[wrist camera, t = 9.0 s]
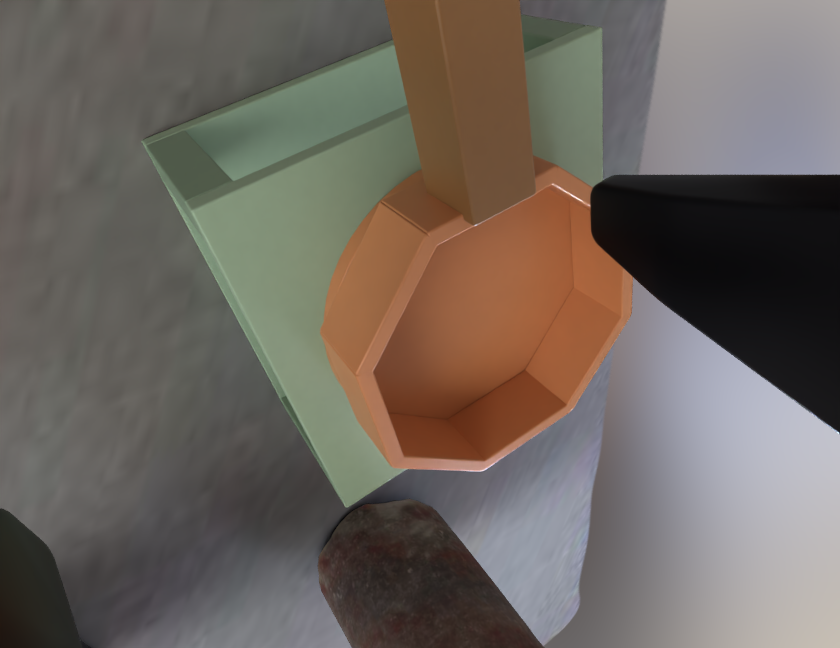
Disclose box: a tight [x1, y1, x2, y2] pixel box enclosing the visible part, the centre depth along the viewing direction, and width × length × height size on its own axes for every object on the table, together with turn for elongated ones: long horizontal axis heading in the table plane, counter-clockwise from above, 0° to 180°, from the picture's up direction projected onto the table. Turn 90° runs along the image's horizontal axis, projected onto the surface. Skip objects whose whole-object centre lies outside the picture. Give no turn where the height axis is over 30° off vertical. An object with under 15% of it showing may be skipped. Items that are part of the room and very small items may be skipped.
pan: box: [320, 0, 633, 472], centre depth 15 cm, size 16×9×3 cm, turn 12°
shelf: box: [142, 15, 603, 508], centre depth 21 cm, size 12×12×6 cm
